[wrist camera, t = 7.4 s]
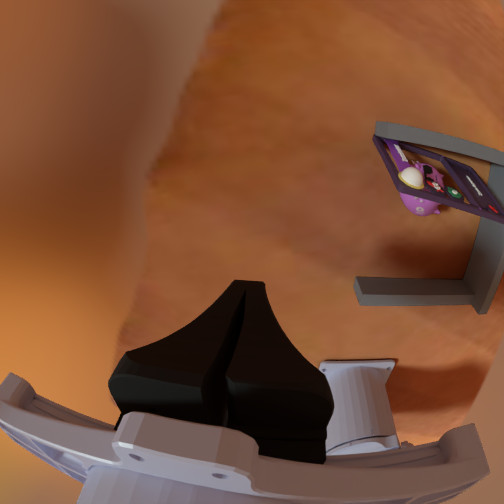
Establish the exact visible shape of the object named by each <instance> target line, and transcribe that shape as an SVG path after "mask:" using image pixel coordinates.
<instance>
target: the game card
mask: <svg viewBox="0 0 504 504" xmlns="http://www.w3.org/2000/svg"><path fill="white" fill-rule="evenodd" d="M372 140H373V142H374V144H375V146H376V148H377V149H378V151H379V153H380V155H381V157H382V159H383V161H384V163H385V165H386V167H387V169H388V171H389V173H390V175H391V178H392V180H393V182H394V184H395V186H396V188H397V190H398V191H399V192H400V196H401V199H402V201H403V203H404V205H405V206H406V207H407V208H408V209H409V210H410V211H411V212H412V213H414V214H416V215H418V216H428V215H430V214H432V213H436V214H440V211H439V210H438V208H437V207H438V205H439V204H443V205H447V206H450V207H453V208H456V209H460V210H463V211H466V212H469V213H472V214H475V215H478V216H481V217H484V218H487V219H490V220H493V221H496V222H498V223H501V224H504V210H503V208H502V207H501V205H500V204H499V203H498V201H497V200H496V198H495V197H494V196H493V194H492V193H491V191H490V190H489V189H488V187H487V186H486V185H485V184H484V182H483V181H482V180H481V178H480V177H479V176H478V175H477V173H476V172H475V171H474V170H473V168H471V167H470V166H468V165H465V164H463V163H460V162H458V161H455V160H453V159H450V158H447V157H445V156H442V155H439V154H436V153H434V152H431V151H428V150H425V149H422V148H419V147H416V146H413V145H410V144H407V143H403V142H400V141H398V140H393V139H389V138H384V137H380V136H376V135H375V134H374V136H373V139H372ZM382 143H384V144H387V145H388V147H389V149H390V151H391V153H392V155H393V157H394V159H395V161H396V163H397V165H398V168H399V171H400V172H399V173H398V171H397V169H396V167H395V165H394V163H393V162H392V160H391V158H390V156H389V154H388V153H387V151H386V149H385V147H384V146H383V144H382ZM401 149H404V150H408V151H411V152H414V153H417V154H420V155H423V156H426V157H429V158H432V159H435V160H438V161H440V162H441V163H442V164H443V165H444V167H445V168H446V170H447V171H448V172H449V174H450V175H451V176H452V178H453V179H454V181H455V182H456V183H457V185H458V186H459V188H460V189H461V191H462V192H463V194H464V195H465V197H466V198H467V200H468V201H469V203H470V204H467V203H464V196H463V195H462V194H460V193H459V192H458V191H457V190H456V189H455V188H452V187H449V186H446V185H445V187H444V184H443V180H442V177H443V176H444V175H442V174H439V172H438V171H437V170H436V169H435V168H434V167H433V166H431V165H429V164H425V163H420V162H418V161H416V162H417V163H415V162H414V161H413V160H411V161H412V165H409V163H408V160H407V158H406V157H405V155H404V154H403V152H402V150H401ZM445 194H447V195H448V196H449V197H450V198H449V197H446V196H445Z"/></svg>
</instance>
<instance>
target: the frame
mask: <svg viewBox="0 0 504 504" xmlns="http://www.w3.org/2000/svg"><path fill="white" fill-rule="evenodd" d="M375 135H376V136H380V137H384V138H389V139H395V140H400V141H406V142H411V143H417V144H422V145H427V146H431V147H436V148H440V149H445V150H449V151H453V152H457V153H461V154H465V155H469V156H472V157H476V158H480V159H483V160H486V161H490V162H491V167H490V174H489V180H488V186H487V187H488V189H489V190H490V191H491V193H492V194H493V196H494V197H495V198H496V200H497V201H498V203H499V204H500V205H501V207H502V208H503V210H504V152H501V151H498V150H496V149H493V148H490V147H487V146H483V145H480V144H477V143H474V142H470V141H467V140H464V139H460V138H456V137H453V136H449V135H445V134H441V133H437V132H433V131H429V130H424V129H420V128H415V127H410V126H405V125H400V124H394V123H389V122H379V121H376V130H375ZM503 272H504V224H501V223H498V222H496V221H493V220H490V219H487V218H484V217H481V220H480V224H479V228H478V232H477V236H476V239H475V243H474V246H473V250H472V253H471V256H470V260H469V263H468V266H467V269H466V272H465V275H464V278H463V280H450V279H408V278H377V277H356V278H355V283H354V290H355V293H356V296H357V299H358V302H359V305H363V306H431V305H467V304H471V305H472V306H473V307H474V309H475V310H476V312H477V313H478V314H486V313H487V311H488V309H489V307H490V305H491V302H492V300H493V298H494V295H495V293H496V290H497V288H498V285H499V283H500V280H501V278H502V275H503Z"/></svg>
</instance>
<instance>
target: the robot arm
mask: <svg viewBox="0 0 504 504" xmlns="http://www.w3.org/2000/svg"><path fill="white" fill-rule="evenodd" d="M394 365H395V362H394V360H370V361H323V362H322V363H321V364H320V367H319V370H318V369H317V368H316V367H315V366H313V365H312V364H311V363H310V362H309V361H308V360H306V359H305V358H304V357H303V356H302V354H301V353H300V352H299V351H298V350H297V349H296V348H295V346H294V345H293V344H292V343H291V342H290V340H289V339H288V337H287V336H286V335H285V333H284V332H283V330H282V328H281V327H280V325H279V323H278V321H277V319H276V317H275V315H274V313H273V311H272V308H271V306H270V303H269V301H268V298H267V294H266V289H265V283H264V282H261V281H246V280H234V281H233V282H232V283H231V284H230V285H229V287H228V288H227V289H226V290H225V291H224V292H223V294H222V295H221V296H220V297H219V298H218V299H217V300H216V301H215V302H214V303H213V304H212V305H211V306H210V307H209V308H208V309H206V310H205V311H204V312H203V313H202V314H201V315H200V316H198V317H197V318H196V319H195V320H193V321H192V322H191V323H189V324H188V325H186V326H185V327H183V328H181V329H180V330H178V331H176V332H174V333H173V334H171V335H169V336H167V337H165V338H163V339H161V340H159V341H156V342H154V343H151V344H149V345H146V346H143V347H140V348H137V349H134V350H131V351H127V352H126V353H125V354H124V356H123V357H122V358H121V360H120V361H119V363H118V365H117V366H116V368H115V370H114V372H113V374H112V375H111V377H110V379H109V381H108V387H109V390H110V392H111V395H112V396H113V398H114V400H115V402H116V404H117V406H118V407H119V409H120V411H121V414H120V417H119V419H118V421H117V423H116V425H115V426H114V425H111V424H108V423H105V422H102V421H100V420H97V419H94V418H91V417H89V416H86V415H83V414H81V413H78V412H76V411H73V410H71V409H69V408H66V407H64V406H61V405H59V404H57V403H55V402H52V401H50V400H48V399H46V398H44V397H42V396H40V395H38V394H36V393H35V391H34V389H33V387H32V386H31V385H30V384H29V383H28V382H27V381H26V380H25V379H23V378H21V377H19V376H17V375H15V374H13V373H9V374H8V376H7V377H6V378H5V380H4V381H3V382H2V384H1V385H0V428H1V429H2V430H3V431H4V432H5V433H6V434H7V435H8V436H9V437H10V438H11V439H12V440H13V441H14V442H16V443H17V444H19V445H20V446H22V447H23V448H25V449H26V450H28V451H29V452H31V453H32V454H34V455H35V456H37V457H38V458H40V459H42V460H43V461H45V462H46V463H48V464H50V465H51V466H53V467H55V468H56V469H58V470H60V471H61V472H63V473H65V474H67V475H68V476H70V477H72V478H74V479H76V480H77V481H79V482H81V483H83V484H84V486H83V488H82V491H81V493H80V496H79V498H78V501H77V503H76V504H439V503H442V502H445V501H447V500H450V499H453V498H455V497H457V496H458V495H460V494H462V493H463V492H465V491H466V490H468V489H469V488H471V487H472V486H474V485H475V484H477V483H478V482H479V481H481V480H482V479H483V478H485V477H486V476H488V475H489V473H490V469H489V466H488V463H487V459H486V456H485V453H484V450H483V447H482V444H481V441H480V438H479V435H478V432H477V430H476V427H475V424H474V423H471V424H468V425H464V426H461V427H457V428H453V429H451V430H449V431H447V432H446V433H445V434H444V435H443V436H442V437H441V438H440V439H439V441H436V442H431V443H427V444H422V445H417V446H414V445H413V444H411V443H408V441H404V442H401V446H400V443H399V440H398V437H397V433H396V429H395V424H394V420H393V415H392V411H391V407H390V403H389V399H388V395H387V391H386V387H385V384H386V382H387V380H388V378H389V376H390V374H391V372H392V370H393V367H394Z"/></svg>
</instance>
